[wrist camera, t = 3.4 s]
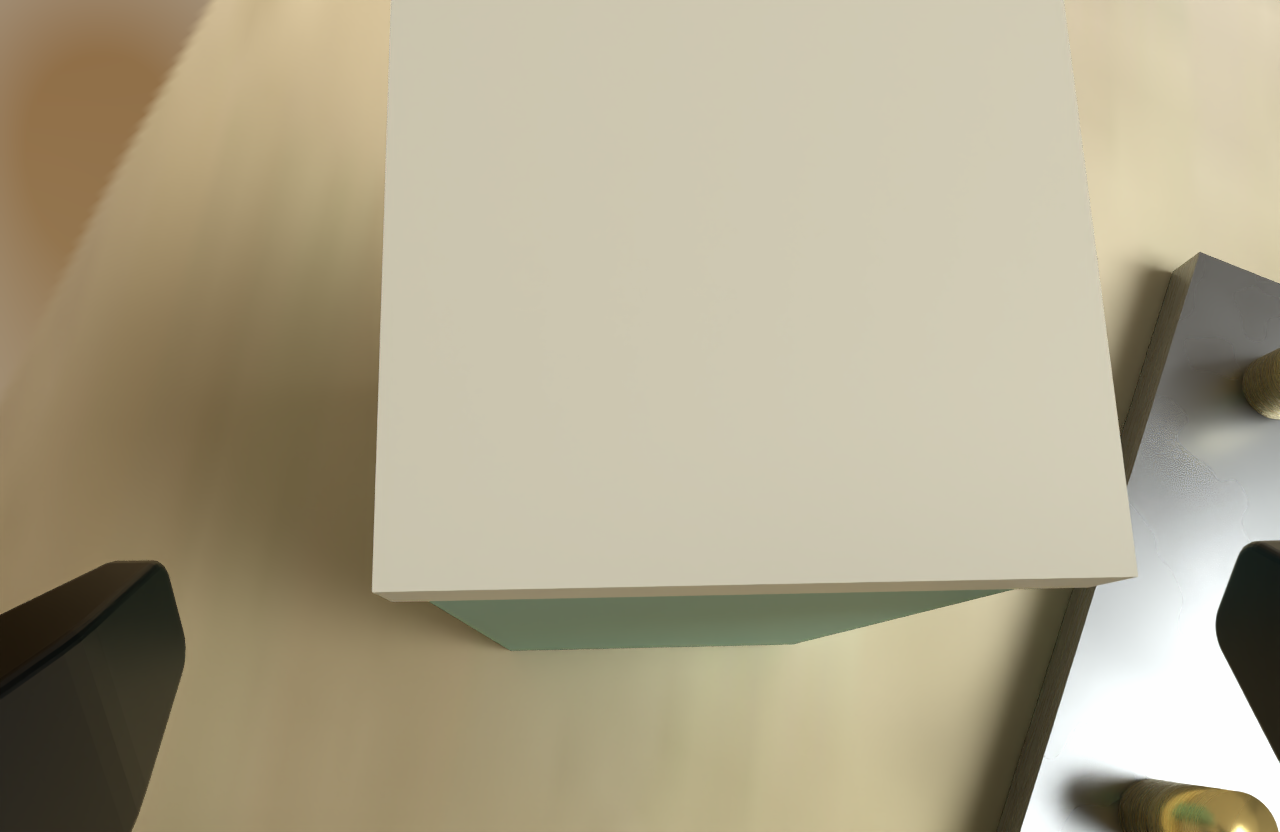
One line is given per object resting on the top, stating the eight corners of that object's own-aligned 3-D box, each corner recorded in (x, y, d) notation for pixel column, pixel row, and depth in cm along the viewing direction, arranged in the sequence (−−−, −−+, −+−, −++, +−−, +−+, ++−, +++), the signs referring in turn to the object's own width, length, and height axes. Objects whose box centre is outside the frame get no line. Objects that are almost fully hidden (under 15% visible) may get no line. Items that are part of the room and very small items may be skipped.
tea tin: (798, 650, 20) (1138, 577, 8) (504, 656, 20) (371, 592, 7) (783, 368, 21) (1053, -81, 9) (505, 371, 21) (392, -87, 9)
